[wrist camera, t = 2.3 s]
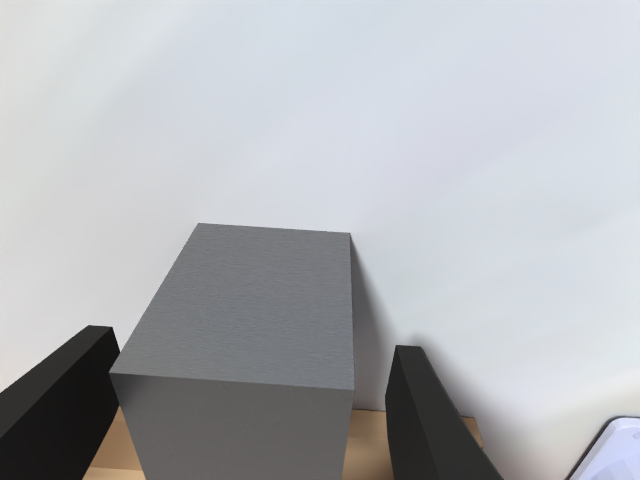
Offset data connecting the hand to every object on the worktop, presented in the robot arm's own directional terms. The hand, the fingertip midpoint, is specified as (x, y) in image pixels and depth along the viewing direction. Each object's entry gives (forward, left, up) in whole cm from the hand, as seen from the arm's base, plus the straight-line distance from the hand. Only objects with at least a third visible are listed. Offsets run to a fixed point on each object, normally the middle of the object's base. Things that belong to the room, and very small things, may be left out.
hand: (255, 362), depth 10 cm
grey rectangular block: (0, 0, -3) cm, 3 cm away
